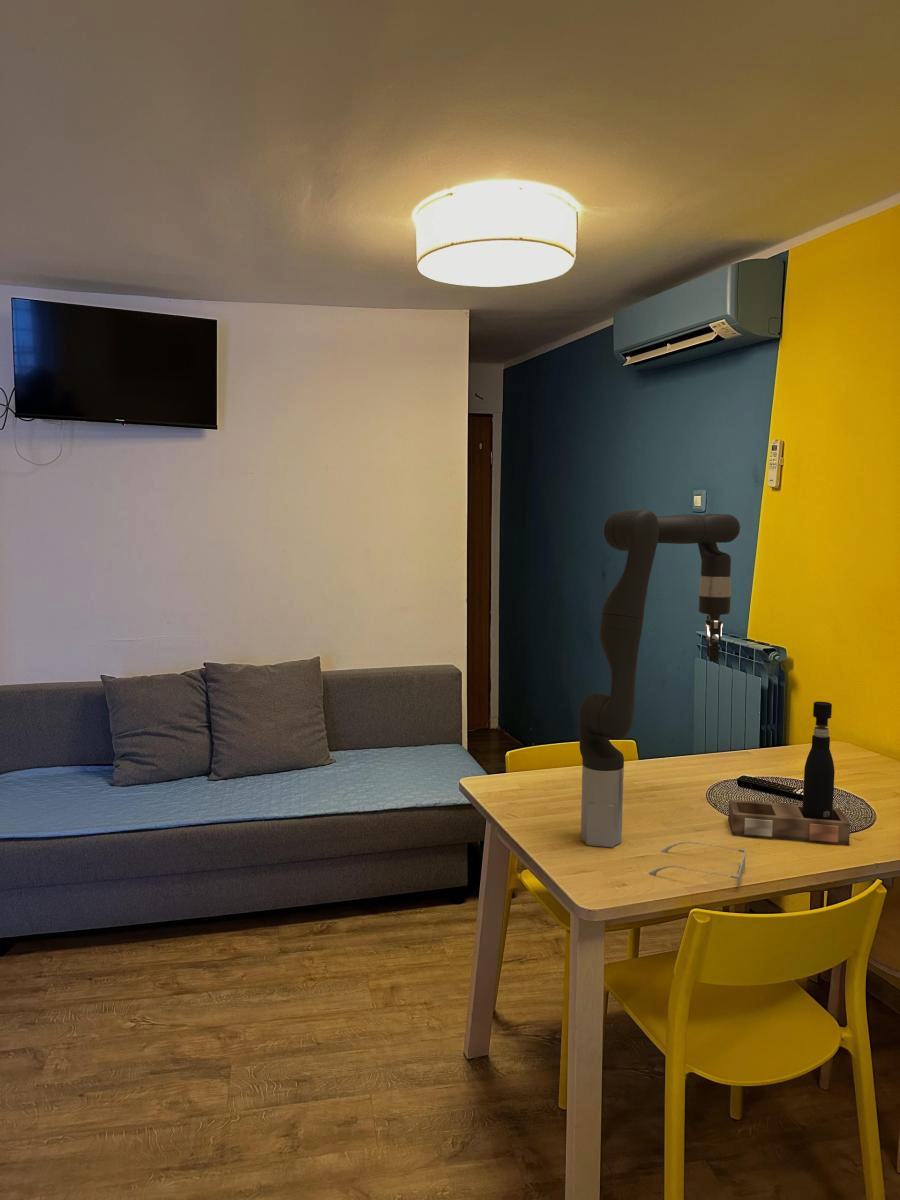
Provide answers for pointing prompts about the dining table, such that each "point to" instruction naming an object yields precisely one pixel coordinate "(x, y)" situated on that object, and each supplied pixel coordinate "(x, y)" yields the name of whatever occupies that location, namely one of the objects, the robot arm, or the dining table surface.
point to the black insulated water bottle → (819, 769)
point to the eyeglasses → (738, 877)
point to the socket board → (786, 823)
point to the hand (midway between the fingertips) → (712, 658)
